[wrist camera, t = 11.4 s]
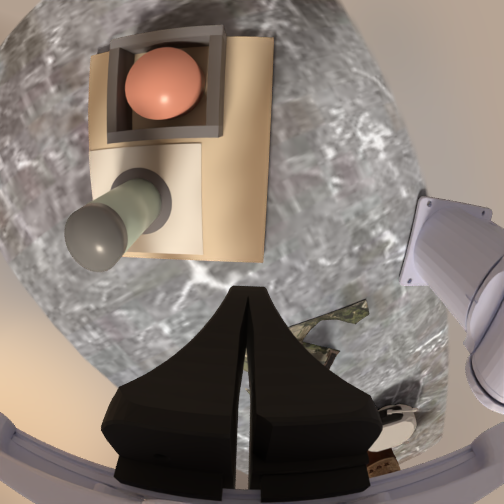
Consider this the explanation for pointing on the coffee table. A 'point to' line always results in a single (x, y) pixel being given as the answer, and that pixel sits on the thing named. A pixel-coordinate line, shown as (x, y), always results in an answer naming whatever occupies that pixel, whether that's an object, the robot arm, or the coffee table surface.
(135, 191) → the green capped bottle
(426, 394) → the coffee table surface
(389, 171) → the coffee table surface
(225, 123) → the wooden base tray
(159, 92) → the button
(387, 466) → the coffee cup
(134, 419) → the robot arm
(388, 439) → the robot toy
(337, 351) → the eiffel tower figurine
